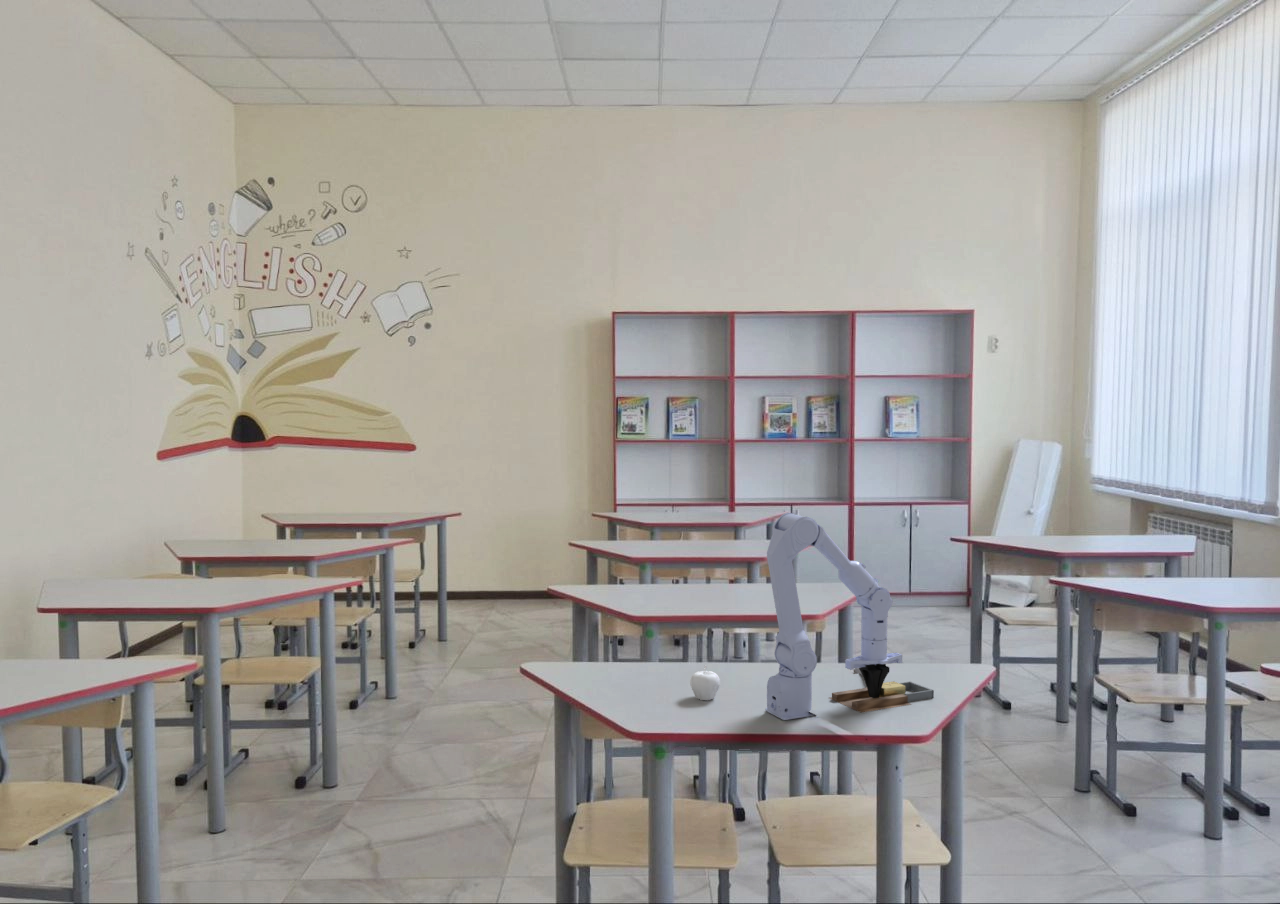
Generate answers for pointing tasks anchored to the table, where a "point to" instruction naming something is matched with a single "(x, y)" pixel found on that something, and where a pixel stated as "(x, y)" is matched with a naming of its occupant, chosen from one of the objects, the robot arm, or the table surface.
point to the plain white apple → (705, 684)
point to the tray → (917, 691)
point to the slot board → (868, 700)
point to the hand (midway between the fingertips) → (873, 697)
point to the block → (892, 689)
